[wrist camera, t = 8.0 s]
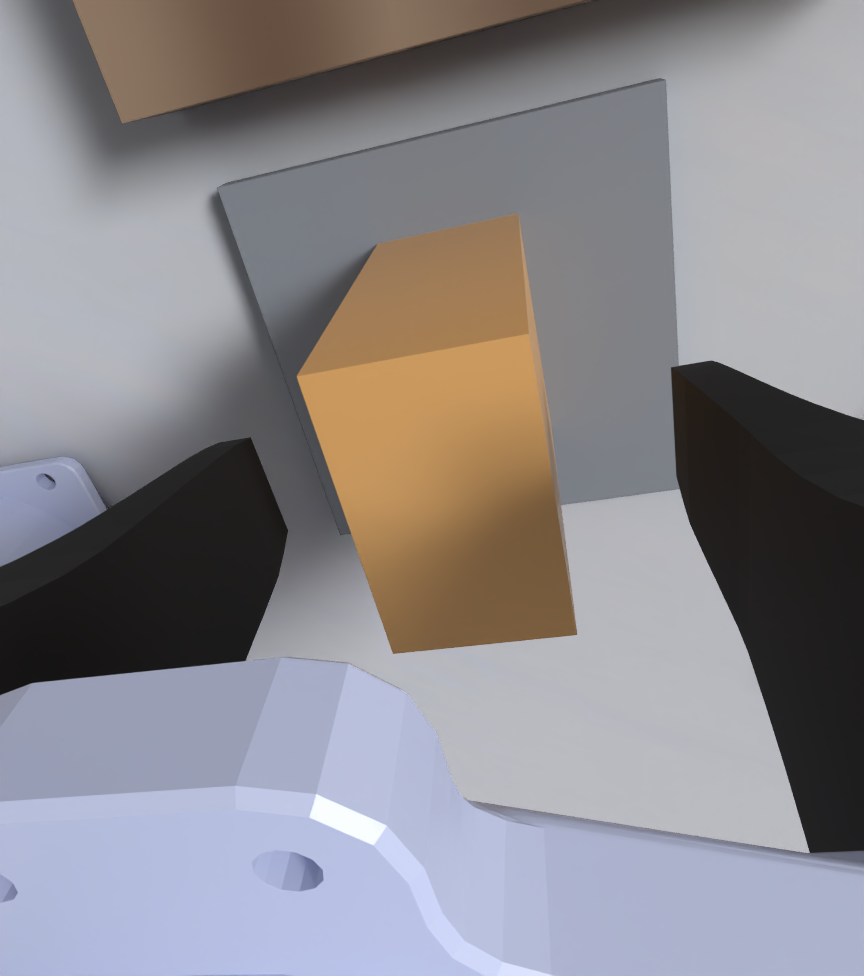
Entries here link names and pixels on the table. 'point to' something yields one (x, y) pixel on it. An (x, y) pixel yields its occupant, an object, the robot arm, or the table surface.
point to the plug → (445, 440)
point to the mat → (548, 253)
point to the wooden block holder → (263, 41)
